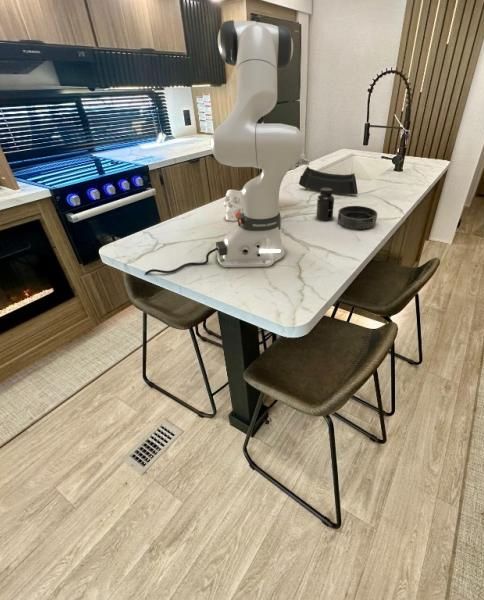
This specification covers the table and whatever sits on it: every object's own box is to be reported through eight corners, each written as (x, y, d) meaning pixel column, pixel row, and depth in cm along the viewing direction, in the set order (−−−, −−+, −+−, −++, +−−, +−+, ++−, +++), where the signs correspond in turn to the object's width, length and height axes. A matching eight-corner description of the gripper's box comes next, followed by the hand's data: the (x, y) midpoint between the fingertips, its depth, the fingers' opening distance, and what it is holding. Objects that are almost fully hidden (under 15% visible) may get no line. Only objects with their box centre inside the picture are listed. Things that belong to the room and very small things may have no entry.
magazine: (364, 177, 154) (309, 152, 159) (363, 178, 151) (307, 153, 156) (351, 209, 165) (299, 185, 170) (349, 211, 162) (297, 186, 167)
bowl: (345, 232, 124) (346, 221, 121) (332, 217, 136) (333, 207, 133) (382, 228, 126) (384, 217, 124) (366, 214, 138) (367, 204, 136)
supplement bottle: (331, 221, 132) (334, 192, 125) (315, 220, 133) (316, 191, 126) (333, 215, 138) (335, 187, 131) (317, 214, 139) (318, 186, 132)
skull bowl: (214, 217, 133) (220, 187, 132) (232, 224, 146) (237, 197, 145) (236, 220, 129) (242, 190, 128) (252, 227, 142) (258, 200, 141)
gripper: (258, 156, 128) (286, 161, 121) (289, 148, 142) (315, 152, 135) (259, 173, 132) (286, 178, 125) (289, 163, 145) (314, 167, 138)
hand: (301, 164), depth 130 cm, fingers open, 8 cm apart
